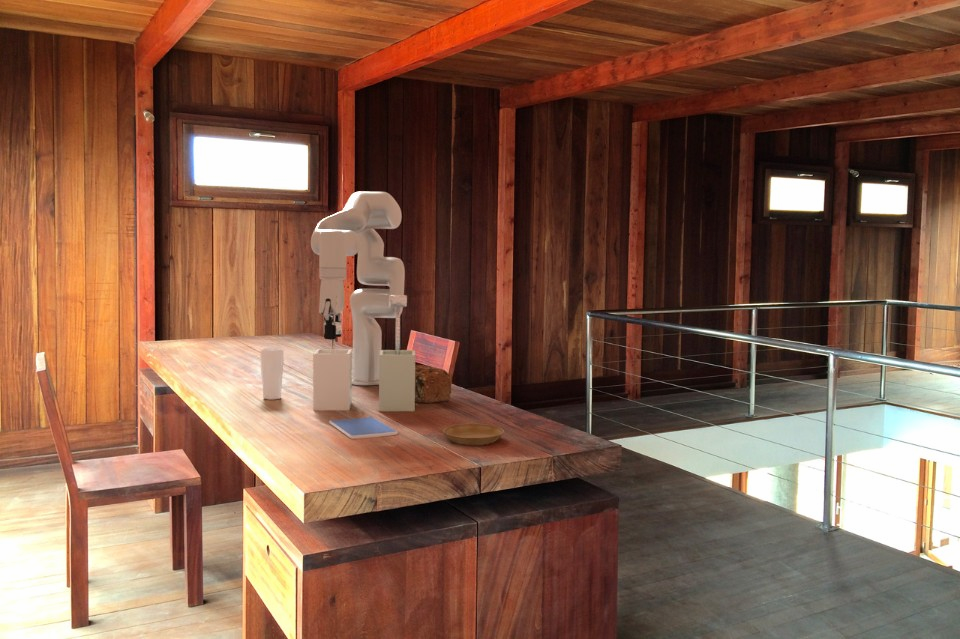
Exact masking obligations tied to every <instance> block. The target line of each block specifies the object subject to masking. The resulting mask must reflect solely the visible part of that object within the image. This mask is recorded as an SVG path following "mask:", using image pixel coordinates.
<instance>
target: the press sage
mask: <svg viewBox="0 0 960 639" xmlns="http://www.w3.org/2000/svg"><path fill="white" fill-rule="evenodd" d="M415 365H416V350H413V349H411V350H410V349H409V350H408V349H407V350H406V349H401V350H400V355H395V349H381V350H380V354H379V385H378V389H379V390H378V391H379V392H378V412H415V411H416V410H415V409H416V408H415V406H416V405H415V403H416V401H415Z"/></svg>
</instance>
